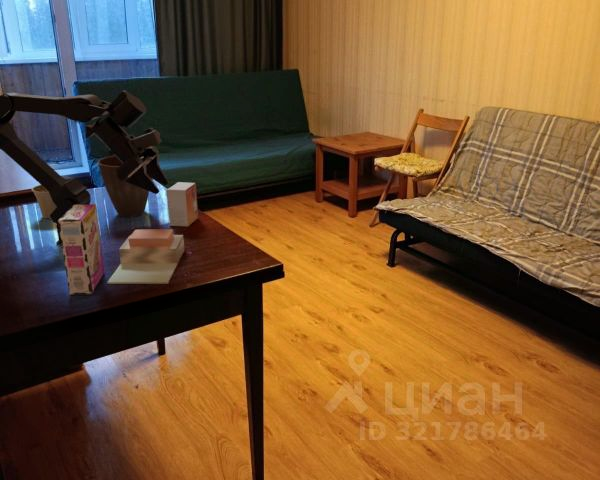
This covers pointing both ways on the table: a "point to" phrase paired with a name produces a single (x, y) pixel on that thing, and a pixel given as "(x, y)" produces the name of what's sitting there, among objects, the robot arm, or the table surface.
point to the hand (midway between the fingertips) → (162, 188)
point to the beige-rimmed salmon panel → (151, 238)
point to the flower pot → (44, 201)
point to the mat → (143, 273)
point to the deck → (153, 252)
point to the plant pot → (122, 189)
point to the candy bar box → (81, 248)
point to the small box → (182, 204)
